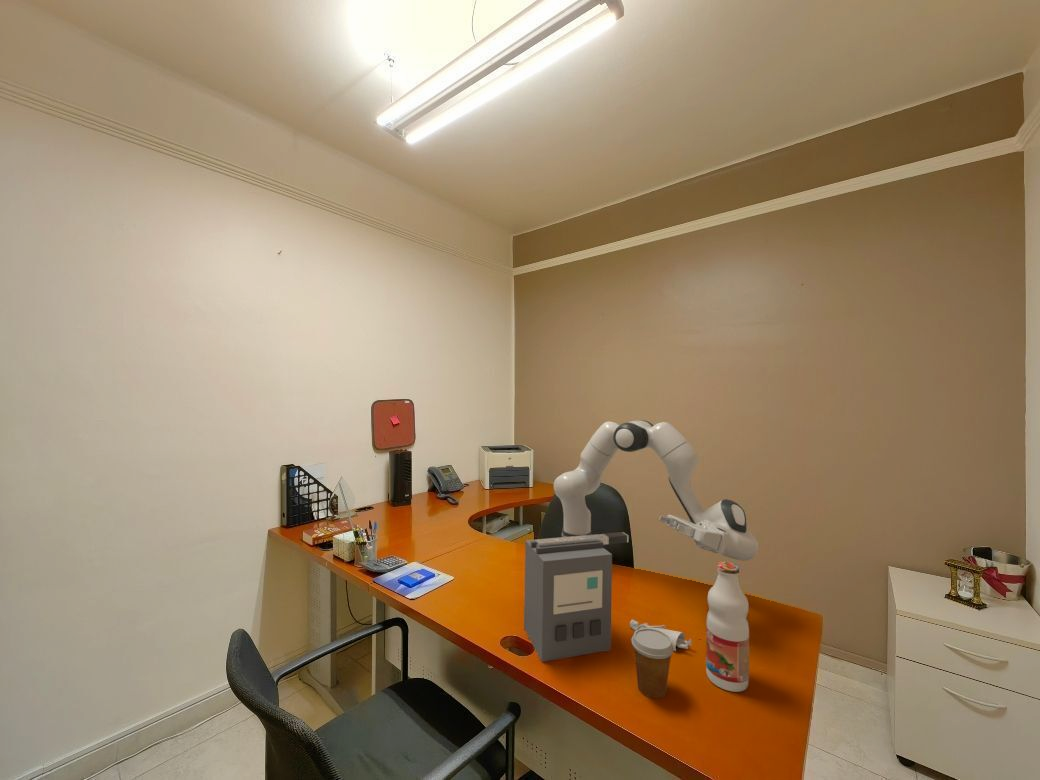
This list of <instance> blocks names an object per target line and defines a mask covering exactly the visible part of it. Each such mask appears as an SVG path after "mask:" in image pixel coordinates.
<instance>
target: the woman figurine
mask: <svg viewBox="0 0 1040 780" xmlns="http://www.w3.org/2000/svg"><path fill="white" fill-rule="evenodd" d="M629 627H630V629H632V630H633V631H634V632H635V631H636V630H638V629H641V628H652V629H656V630H659V631H661V632H663V633H665V634H666V635H668V636H669V638H670V639H671V642H672V644H673V648H674V649H673V652H674V651H675V652H677V648H676V647H678V648H680V649H686V650H687V649H689V646H692V645H693V644H692V639H691V638H689V640H686V636H685V633H684V632H682V631H677V630H671V629H666V627H667V625H664V624H662V625H649V623H647V622H644V623H642V624H640V625H639V622H638V621H637V620H634V619H631V620H630V622H629Z"/></svg>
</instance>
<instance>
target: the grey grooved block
mask: <svg viewBox="0 0 1040 780" xmlns="http://www.w3.org/2000/svg"><path fill="white" fill-rule="evenodd" d="M582 536H585V535H582ZM570 537H574V536H570ZM551 538H552V537H550V538H549V537H548V538H546V539H551ZM558 538H562V537H559V536H558ZM539 539H540V538H537V539H526V540H525V543H524V547H525V549H524V550H525V551H524V601H523V602H524V604H523V605H524V607H523V608H524V610H523V613H524V614H523V629H524V631H525V633H526V635H527V637H528V639H529V640H530V642H531V645H532V646H533V647H534V648H533V649H534V650H535V652H536V653H537V656H538V657H539V659H540V661H541V662H542V663H544V662H548V661H549V662H550V661H554V660H560V659H567V658H572V657H578V656H583V655H589V654H595V653H600V652H606V651H611V650H612V598H613V597H612V593H613V592H612V588H613V585H612V583H613V579H612V577H613V553H611V552H609V551H608V550H607V549H605V548H604V545H603V542H591V543H580V544H570V545H559V546H548V547H537V548H536V540H539Z"/></svg>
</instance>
